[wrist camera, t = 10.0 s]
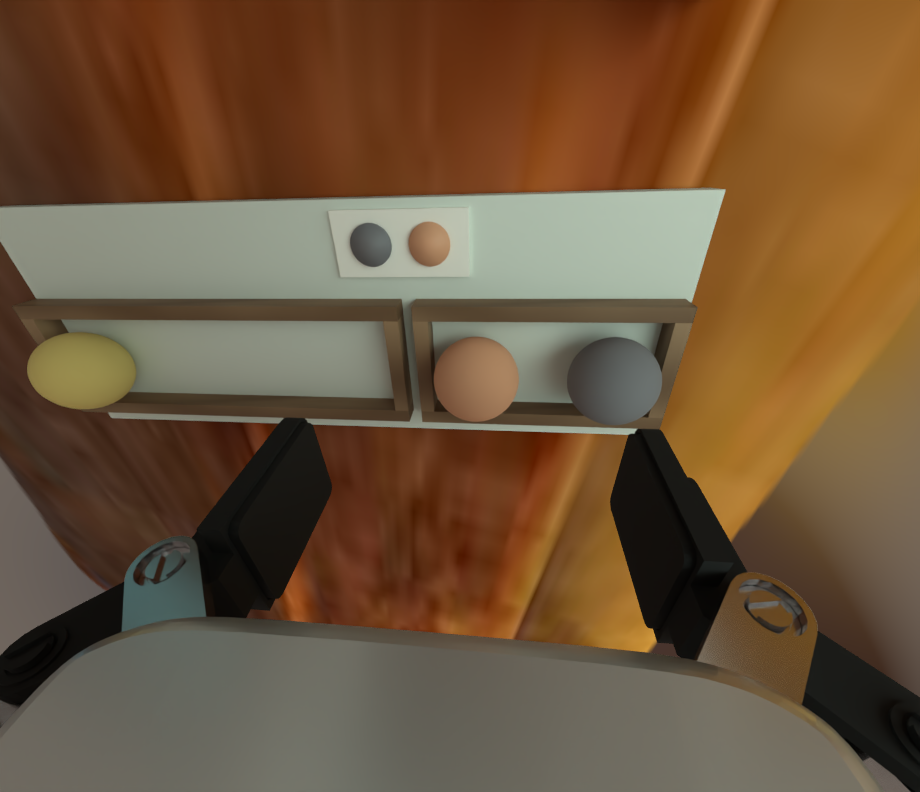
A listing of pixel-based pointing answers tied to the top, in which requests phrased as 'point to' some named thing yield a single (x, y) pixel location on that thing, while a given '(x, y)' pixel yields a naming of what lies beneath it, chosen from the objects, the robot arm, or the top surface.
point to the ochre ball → (81, 370)
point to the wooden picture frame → (49, 313)
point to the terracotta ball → (476, 379)
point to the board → (361, 282)
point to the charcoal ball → (614, 381)
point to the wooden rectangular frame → (666, 311)
